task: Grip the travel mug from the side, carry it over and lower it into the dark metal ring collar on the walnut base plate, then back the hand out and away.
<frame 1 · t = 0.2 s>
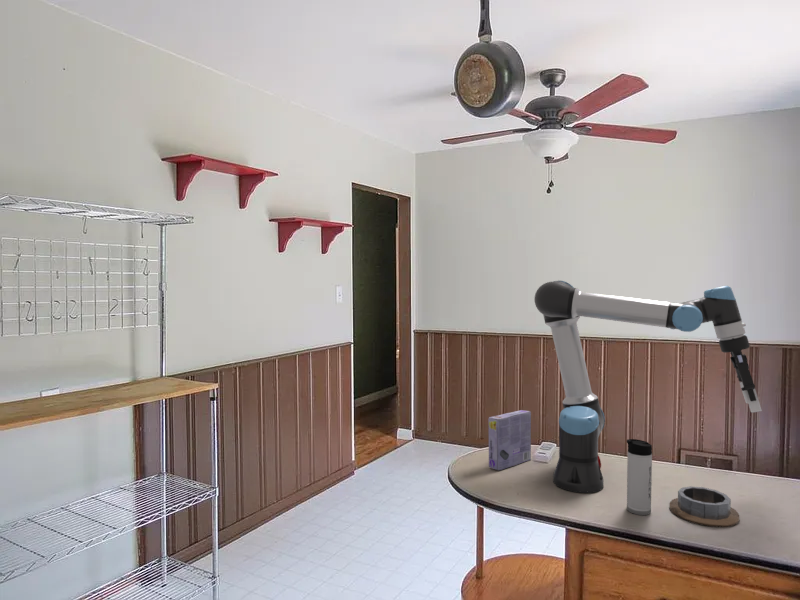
hand: (753, 407, 164), 27 cm above the kitchen island, fingers open, 13 cm apart
cake pan box: (510, 464, 194), on the kitchen island
ring collar: (703, 513, 154), on the kitchen island
mechanical linkage: (581, 464, 193), on the kitchen island
travel mug: (638, 511, 156), on the kitchen island
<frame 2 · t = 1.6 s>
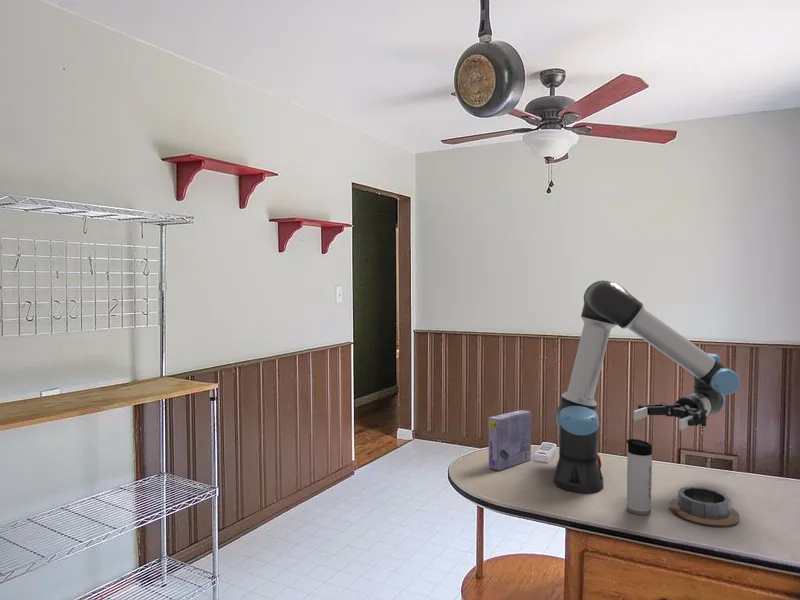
hand: (656, 420, 160), 24 cm above the kitchen island, fingers open, 13 cm apart
nothing on the kitchen island moved.
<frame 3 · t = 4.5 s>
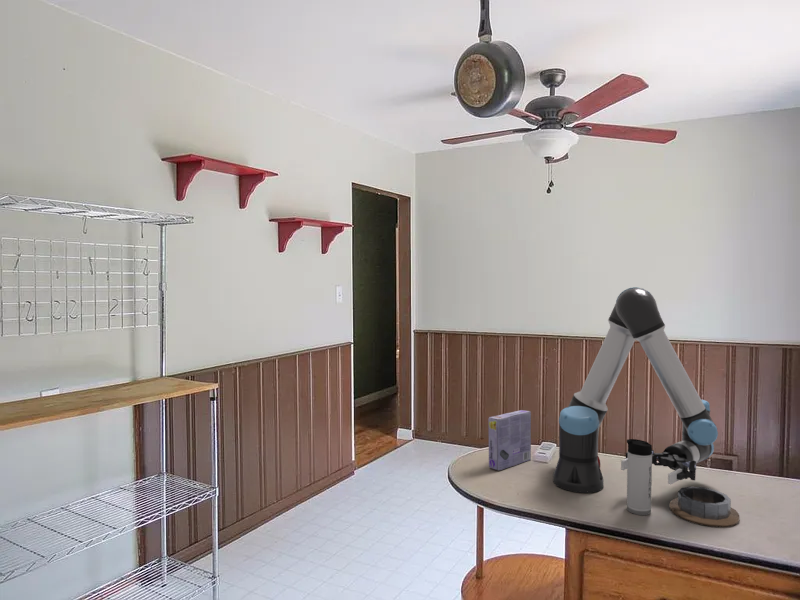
hand: (645, 472, 155), 11 cm above the kitchen island, fingers open, 13 cm apart
nothing on the kitchen island moved.
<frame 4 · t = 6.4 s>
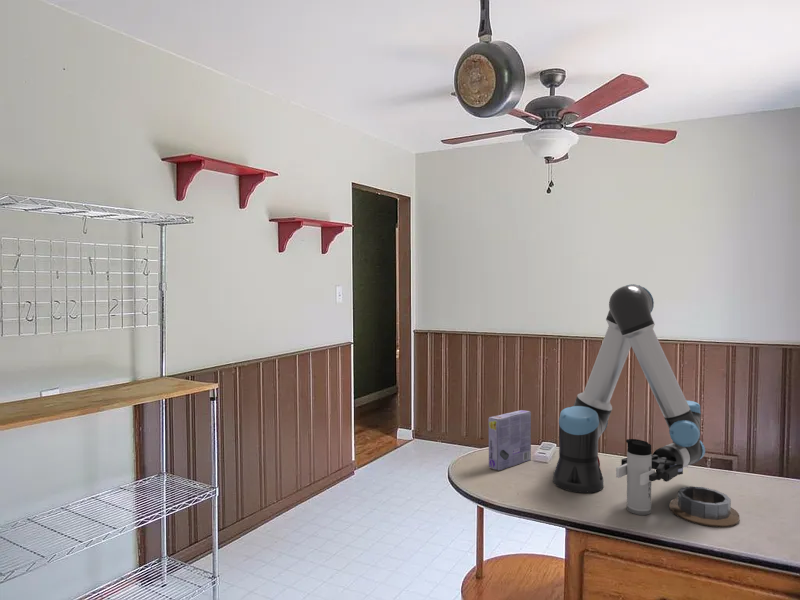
hand: (629, 476, 152), 11 cm above the kitchen island, fingers closed on travel mug, 6 cm apart
travel mug: (638, 511, 156), on the kitchen island, touching gripper
everything else where it was.
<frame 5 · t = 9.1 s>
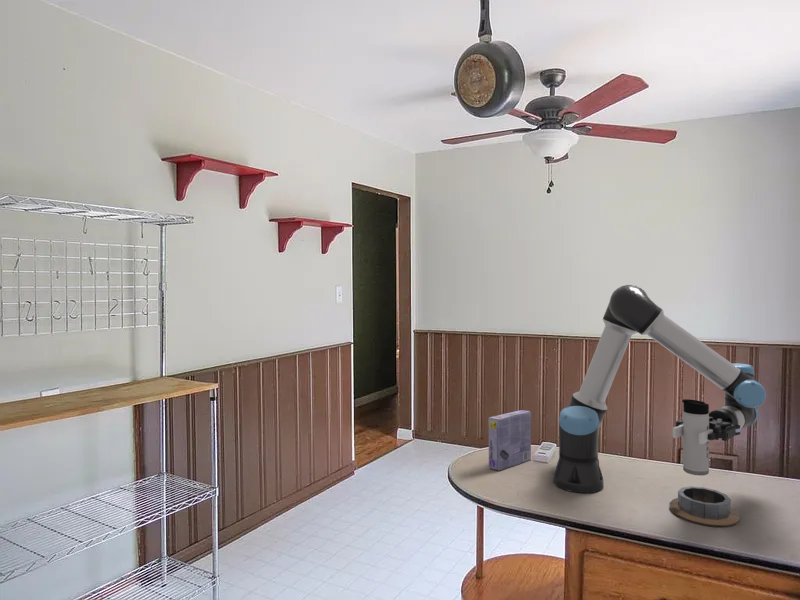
hand: (687, 436, 150), 23 cm above the kitchen island, fingers closed on travel mug, 6 cm apart
travel mug: (695, 472, 153), point 12 cm above the kitchen island, touching gripper
everything else where it was.
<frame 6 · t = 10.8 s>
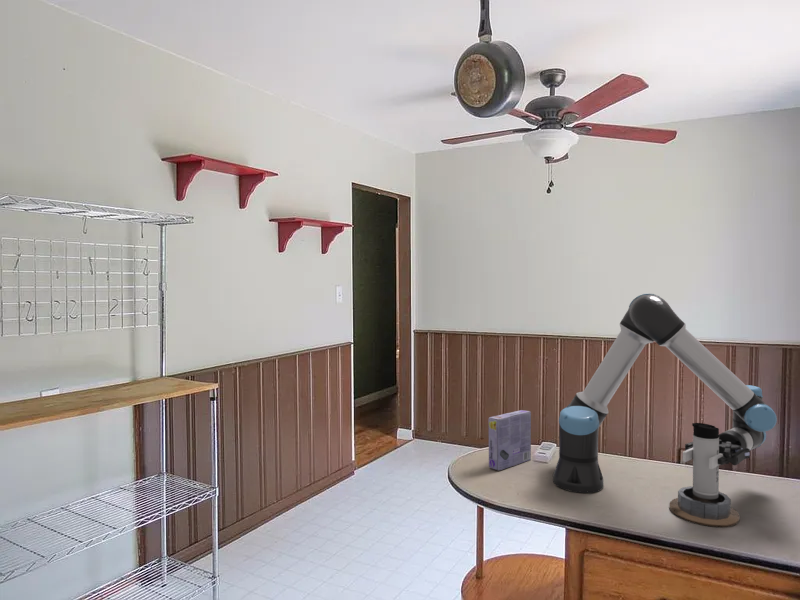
hand: (697, 460, 150), 16 cm above the kitchen island, fingers closed on travel mug, 6 cm apart
travel mug: (704, 495, 154), point 5 cm above the kitchen island, touching gripper
everything else where it was.
when the fingers open (13 cm above the kitchen island, at t = 11.8 s): travel mug drops 1 cm, resting on ring collar.
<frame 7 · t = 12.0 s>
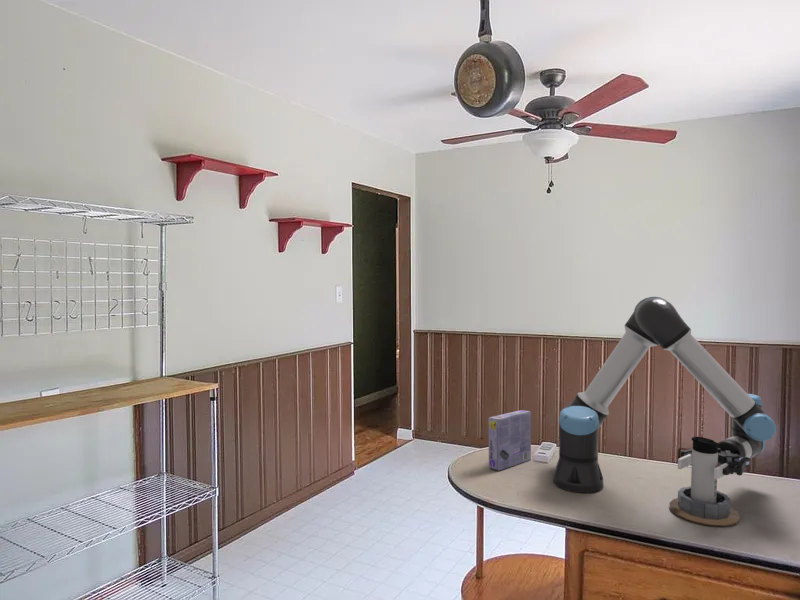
hand: (696, 468, 150), 13 cm above the kitchen island, fingers open, 9 cm apart
travel mug: (702, 509, 154), point 1 cm above the kitchen island, touching ring collar
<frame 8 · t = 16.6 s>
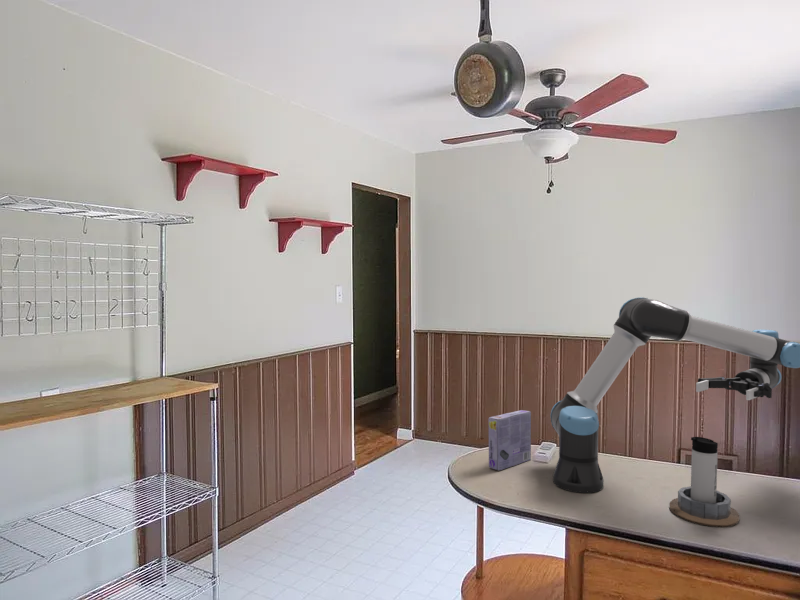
hand: (721, 391, 161), 32 cm above the kitchen island, fingers open, 13 cm apart
at the end: travel mug 0.3 cm off-centre on the ring collar, point 0.8 cm above the ring collar's base; travel mug tilted 0°; the gripper is holding nothing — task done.
